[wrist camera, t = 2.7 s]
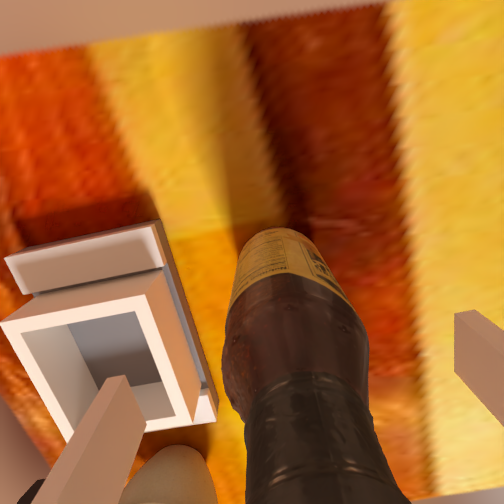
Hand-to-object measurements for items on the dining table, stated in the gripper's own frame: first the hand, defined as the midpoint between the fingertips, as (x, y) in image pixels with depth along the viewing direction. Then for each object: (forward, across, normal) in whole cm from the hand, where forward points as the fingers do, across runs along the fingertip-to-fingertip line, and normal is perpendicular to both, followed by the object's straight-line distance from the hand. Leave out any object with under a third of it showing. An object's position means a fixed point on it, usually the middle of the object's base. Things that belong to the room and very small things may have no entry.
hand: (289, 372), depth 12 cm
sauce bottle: (+13, 0, 0) cm, 13 cm away
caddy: (+13, +13, +4) cm, 19 cm away
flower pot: (+13, +14, +20) cm, 28 cm away
